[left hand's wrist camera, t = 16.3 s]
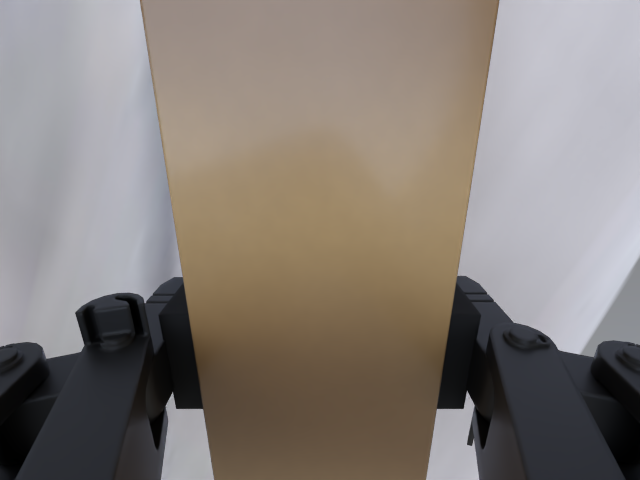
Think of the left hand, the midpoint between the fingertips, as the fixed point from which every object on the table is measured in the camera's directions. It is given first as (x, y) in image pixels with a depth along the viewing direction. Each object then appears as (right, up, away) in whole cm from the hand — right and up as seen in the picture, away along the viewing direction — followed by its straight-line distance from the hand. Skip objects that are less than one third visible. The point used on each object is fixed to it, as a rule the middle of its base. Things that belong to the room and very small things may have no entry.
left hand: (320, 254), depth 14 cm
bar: (0, +33, -12) cm, 35 cm away
